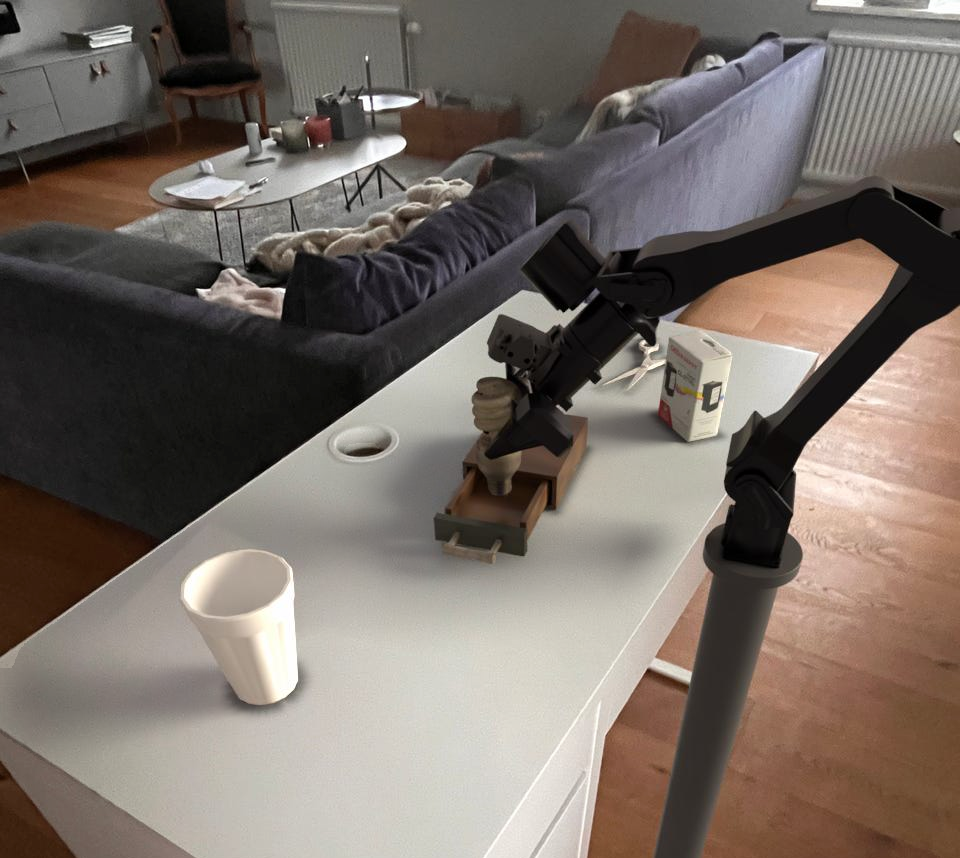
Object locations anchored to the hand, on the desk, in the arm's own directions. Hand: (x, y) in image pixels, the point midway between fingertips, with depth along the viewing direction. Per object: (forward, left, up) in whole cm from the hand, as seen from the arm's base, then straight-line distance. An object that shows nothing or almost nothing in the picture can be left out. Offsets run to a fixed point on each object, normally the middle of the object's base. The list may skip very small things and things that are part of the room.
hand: (485, 444), depth 93 cm
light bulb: (-1, -1, -7) cm, 7 cm away
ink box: (-19, -31, -11) cm, 38 cm away
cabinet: (-1, -13, -11) cm, 16 cm away
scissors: (-10, -47, -11) cm, 49 cm away
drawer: (-1, +1, -10) cm, 10 cm away
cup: (+12, +32, -11) cm, 36 cm away
